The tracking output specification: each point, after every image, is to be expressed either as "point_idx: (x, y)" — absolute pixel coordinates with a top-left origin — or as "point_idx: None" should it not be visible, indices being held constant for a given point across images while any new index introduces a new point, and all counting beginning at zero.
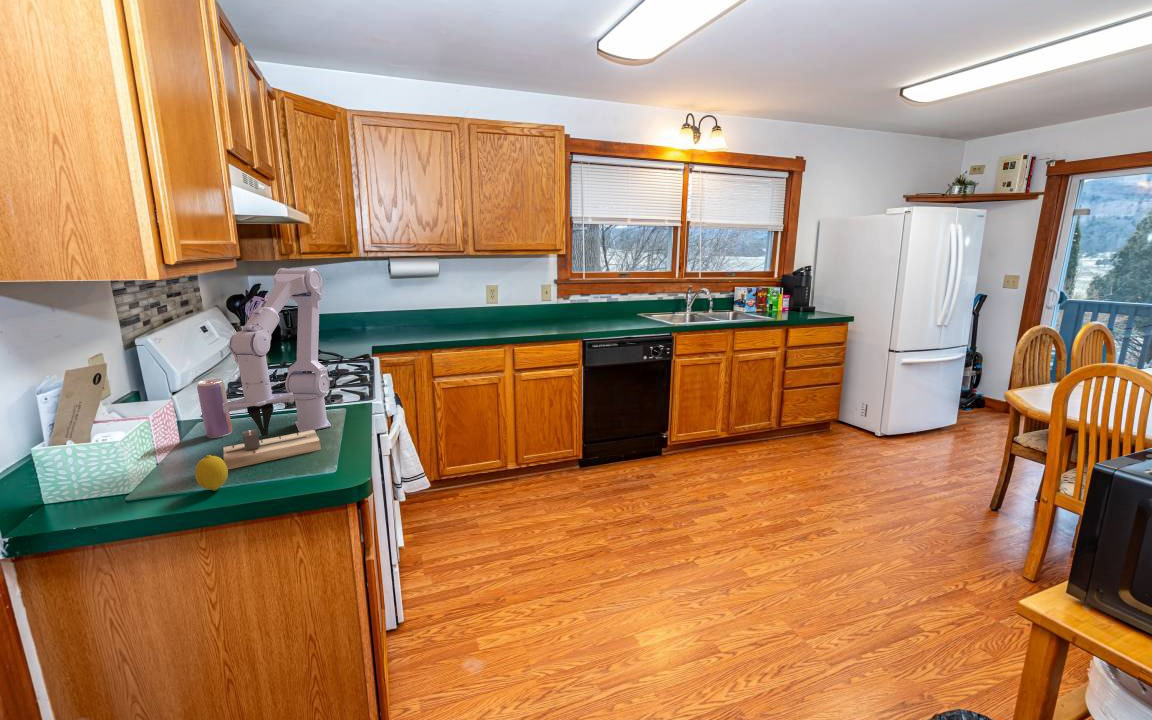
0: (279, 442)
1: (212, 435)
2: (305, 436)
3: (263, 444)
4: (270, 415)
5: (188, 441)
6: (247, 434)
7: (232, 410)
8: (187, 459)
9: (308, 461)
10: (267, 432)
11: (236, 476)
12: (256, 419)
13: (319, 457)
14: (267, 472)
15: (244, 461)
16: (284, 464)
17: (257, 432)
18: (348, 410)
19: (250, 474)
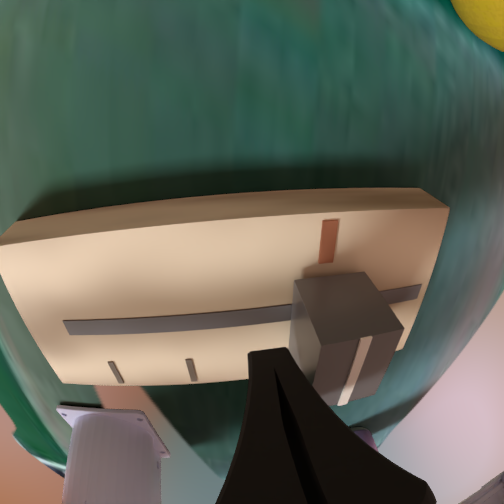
0: (188, 317)
1: (364, 431)
2: (70, 332)
3: (269, 326)
4: (227, 494)
5: (399, 417)
6: (372, 357)
7: (487, 488)
8: (447, 335)
9: (52, 80)
10: (253, 364)
11: (397, 77)
12: (353, 455)
13: (10, 117)
14: (264, 23)
15: (366, 195)
16: (169, 90)
17: (316, 371)
18: (61, 452)
19: (344, 54)
